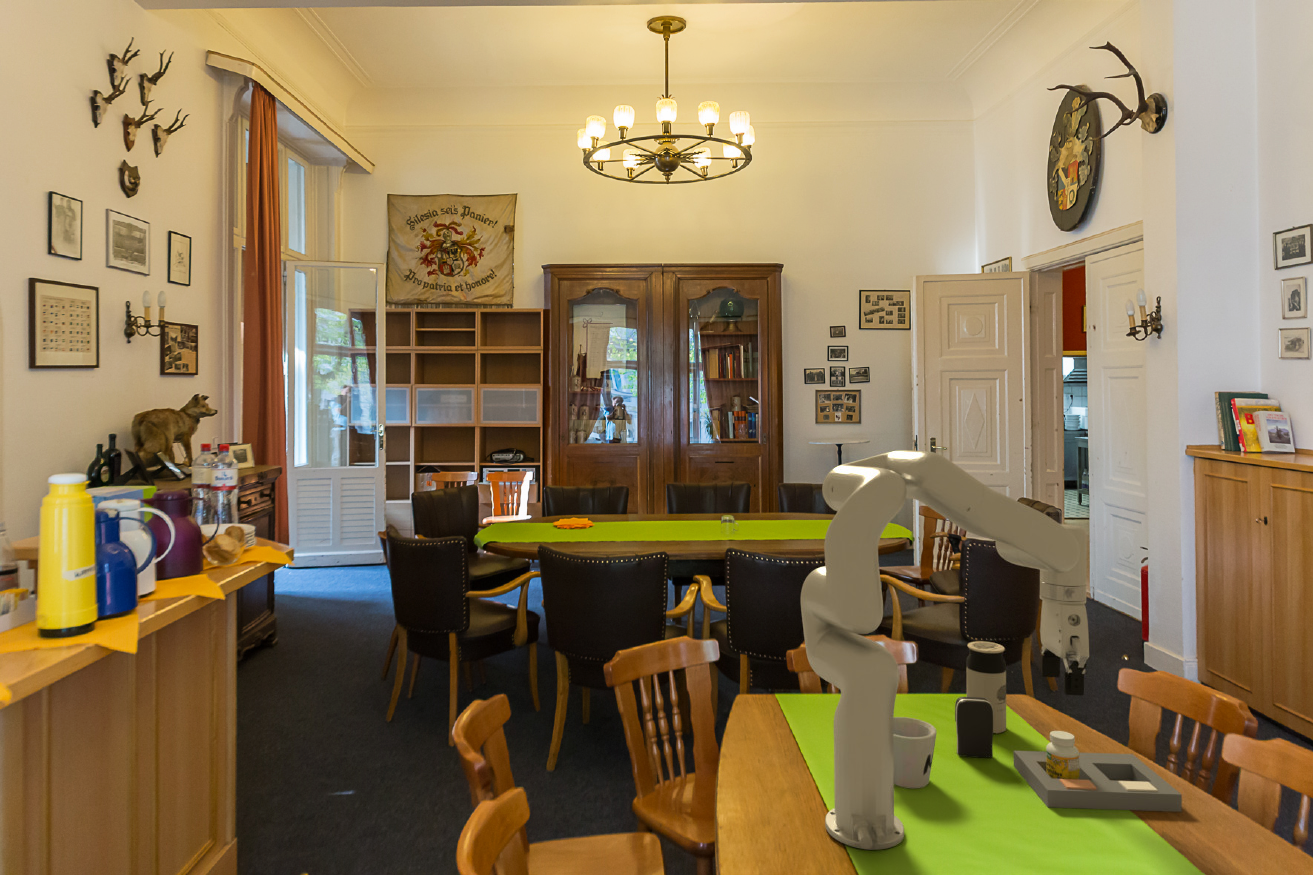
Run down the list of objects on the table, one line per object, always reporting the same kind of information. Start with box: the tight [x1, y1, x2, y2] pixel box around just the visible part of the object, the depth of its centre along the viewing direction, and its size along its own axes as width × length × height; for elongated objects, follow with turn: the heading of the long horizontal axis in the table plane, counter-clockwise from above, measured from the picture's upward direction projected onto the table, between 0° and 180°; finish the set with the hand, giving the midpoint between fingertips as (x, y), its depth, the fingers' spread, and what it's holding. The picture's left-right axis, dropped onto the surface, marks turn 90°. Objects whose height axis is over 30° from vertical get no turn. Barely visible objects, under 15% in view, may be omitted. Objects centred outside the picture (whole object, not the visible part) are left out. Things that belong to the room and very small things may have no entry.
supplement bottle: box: [1045, 730, 1080, 779], centre depth 140 cm, size 5×5×10 cm
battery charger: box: [954, 696, 994, 759], centre depth 154 cm, size 7×4×11 cm, turn 79°
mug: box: [893, 716, 937, 789], centre depth 144 cm, size 10×15×10 cm
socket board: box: [1013, 750, 1183, 813], centre depth 139 cm, size 16×22×3 cm
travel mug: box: [965, 641, 1007, 734], centre depth 167 cm, size 8×8×18 cm
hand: (1061, 685), depth 139 cm, fingers open, 9 cm apart
